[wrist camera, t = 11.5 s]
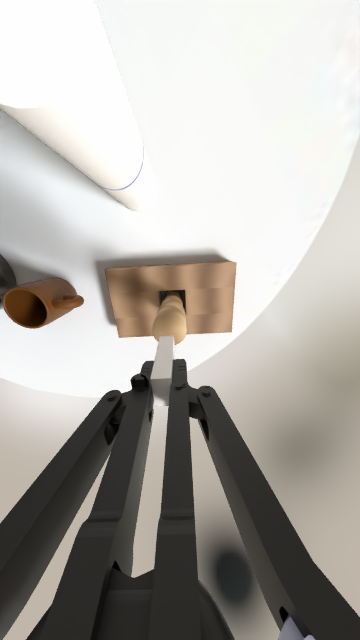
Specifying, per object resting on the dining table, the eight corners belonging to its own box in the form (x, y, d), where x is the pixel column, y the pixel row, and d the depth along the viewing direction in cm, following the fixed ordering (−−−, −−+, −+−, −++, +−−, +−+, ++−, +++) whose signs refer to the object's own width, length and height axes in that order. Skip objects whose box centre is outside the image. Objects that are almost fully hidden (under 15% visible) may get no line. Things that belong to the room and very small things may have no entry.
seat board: (124, 329, 40) (119, 337, 37) (112, 267, 35) (104, 270, 31) (226, 324, 40) (231, 332, 36) (230, 261, 35) (236, 262, 31)
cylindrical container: (136, 221, 32) (25, 148, 9) (107, 184, 30) (-142, -38, 7) (165, 191, 30) (121, 4, 7) (137, 150, 28) (-62, -310, 5)
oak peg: (163, 308, 38) (154, 346, 24) (161, 288, 37) (150, 315, 22) (184, 307, 38) (187, 344, 24) (183, 287, 37) (185, 313, 22)
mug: (94, 274, 36) (66, 282, 27) (102, 309, 38) (80, 326, 30) (37, 278, 36) (-8, 287, 27) (50, 312, 39) (13, 331, 30)
